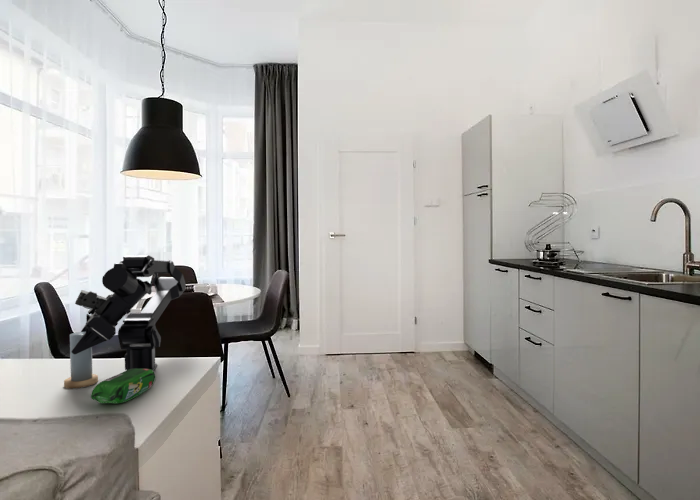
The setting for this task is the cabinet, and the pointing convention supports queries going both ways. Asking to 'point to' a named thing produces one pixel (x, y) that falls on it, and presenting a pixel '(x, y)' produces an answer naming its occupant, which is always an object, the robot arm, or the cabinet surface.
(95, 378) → the tan round disc
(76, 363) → the grey rounded cylinder
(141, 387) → the snack package
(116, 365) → the cabinet surface
